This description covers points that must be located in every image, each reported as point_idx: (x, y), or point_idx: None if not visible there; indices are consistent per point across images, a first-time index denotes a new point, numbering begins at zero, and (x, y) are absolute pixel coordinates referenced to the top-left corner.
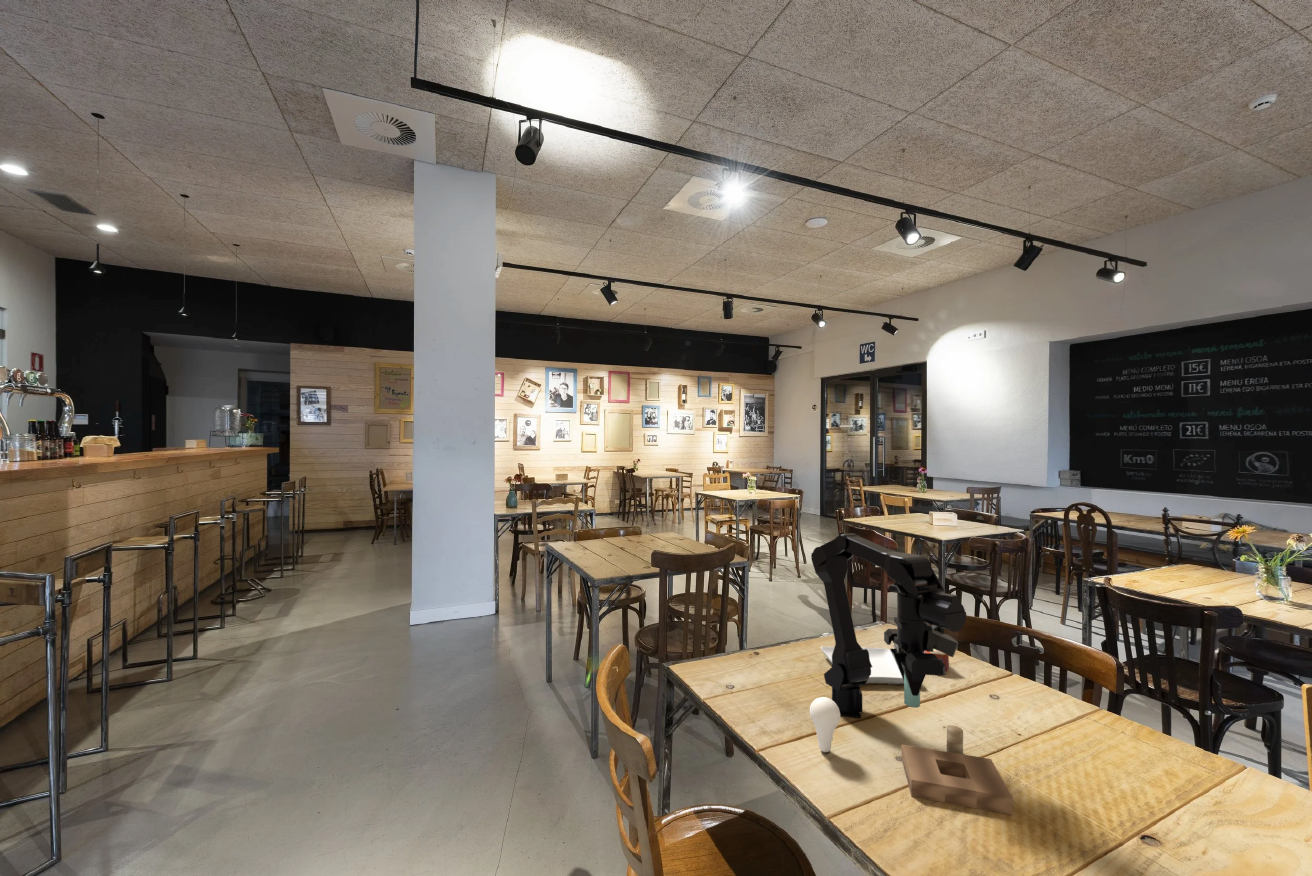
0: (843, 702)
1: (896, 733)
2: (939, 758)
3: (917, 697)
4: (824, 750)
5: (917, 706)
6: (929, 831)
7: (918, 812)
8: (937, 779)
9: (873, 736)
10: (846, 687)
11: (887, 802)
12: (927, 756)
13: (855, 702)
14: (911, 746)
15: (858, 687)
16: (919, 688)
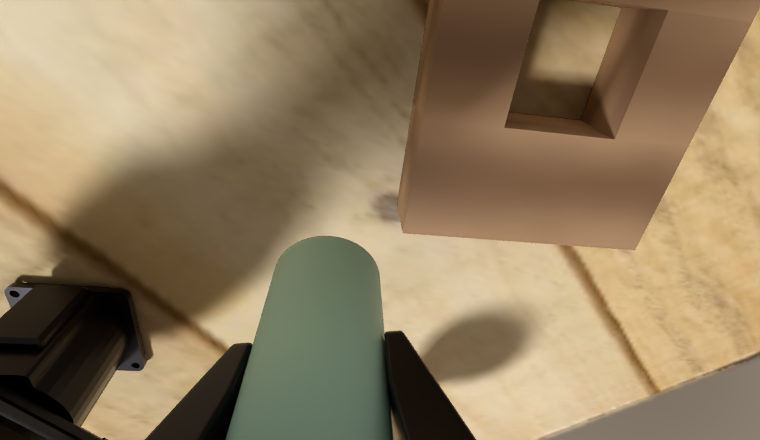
0: (108, 373)
1: (193, 180)
2: (497, 105)
3: (378, 310)
4: None
5: (373, 263)
6: (753, 211)
7: (675, 219)
8: (646, 162)
9: (256, 264)
10: (66, 428)
11: (622, 283)
12: (485, 154)
13: (79, 337)
14: (410, 199)
15: (8, 378)
16: (435, 388)
